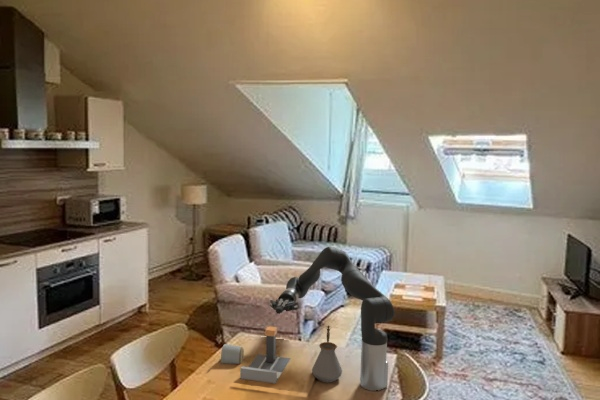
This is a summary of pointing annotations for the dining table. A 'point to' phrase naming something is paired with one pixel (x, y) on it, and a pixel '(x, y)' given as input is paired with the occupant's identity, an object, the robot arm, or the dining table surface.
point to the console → (264, 369)
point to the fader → (270, 343)
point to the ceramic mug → (232, 354)
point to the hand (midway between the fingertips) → (278, 311)
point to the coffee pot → (327, 362)
